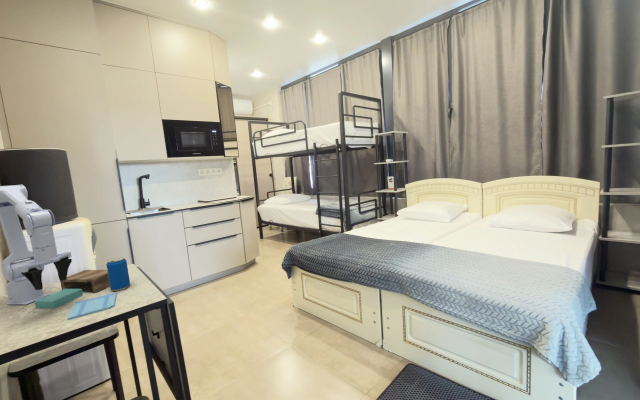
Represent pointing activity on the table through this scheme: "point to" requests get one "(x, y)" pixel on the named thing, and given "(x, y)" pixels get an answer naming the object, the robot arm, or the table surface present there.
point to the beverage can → (118, 273)
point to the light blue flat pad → (92, 306)
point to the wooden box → (87, 280)
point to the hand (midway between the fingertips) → (51, 284)
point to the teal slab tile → (58, 298)
